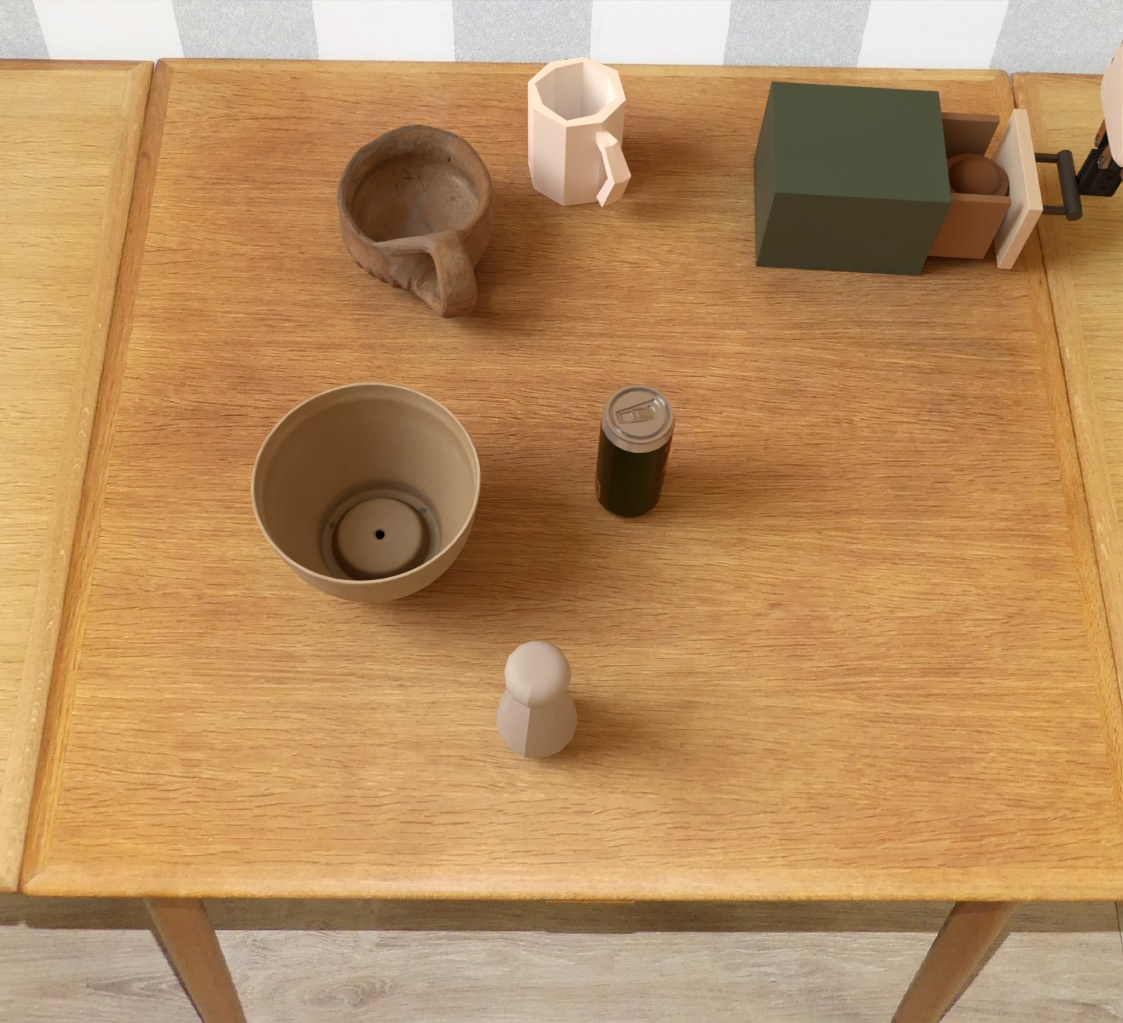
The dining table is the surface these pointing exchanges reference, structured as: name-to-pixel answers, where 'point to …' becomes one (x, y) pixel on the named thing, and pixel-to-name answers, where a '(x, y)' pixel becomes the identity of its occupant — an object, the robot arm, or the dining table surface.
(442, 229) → the brown clay cup
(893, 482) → the dining table surface
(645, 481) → the beer can
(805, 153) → the cabinet
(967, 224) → the drawer
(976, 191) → the brown dome knob
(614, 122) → the mug
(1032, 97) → the dining table surface
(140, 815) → the dining table surface
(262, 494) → the planter bowl
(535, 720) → the salt shaker
